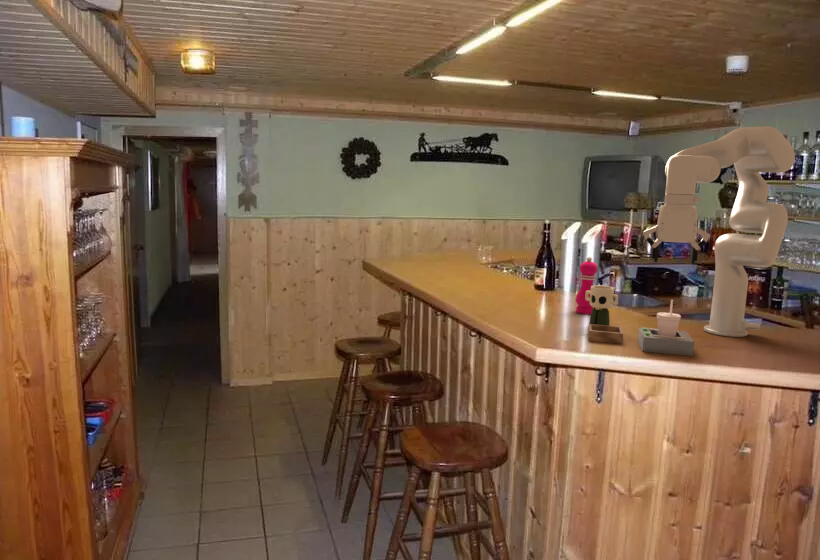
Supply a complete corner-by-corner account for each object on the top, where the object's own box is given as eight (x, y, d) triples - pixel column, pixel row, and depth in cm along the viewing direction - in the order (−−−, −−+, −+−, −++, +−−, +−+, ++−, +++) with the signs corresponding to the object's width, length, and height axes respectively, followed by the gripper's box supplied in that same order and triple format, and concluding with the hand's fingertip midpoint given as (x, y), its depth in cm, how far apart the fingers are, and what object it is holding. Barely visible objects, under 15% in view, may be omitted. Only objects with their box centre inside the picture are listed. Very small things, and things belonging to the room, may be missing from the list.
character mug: (578, 325, 204) (581, 286, 202) (587, 322, 209) (591, 283, 207) (611, 331, 197) (614, 290, 195) (619, 328, 202) (623, 288, 200)
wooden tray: (620, 336, 191) (620, 326, 191) (622, 343, 182) (623, 333, 182) (587, 333, 193) (588, 323, 193) (588, 340, 184) (589, 330, 184)
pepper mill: (573, 313, 224) (577, 257, 221) (576, 309, 231) (580, 255, 228) (594, 315, 222) (599, 258, 218) (596, 311, 228) (601, 256, 225)
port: (684, 344, 184) (686, 329, 183) (692, 356, 171) (694, 339, 170) (637, 340, 187) (639, 325, 186) (642, 351, 174) (643, 335, 174)
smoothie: (666, 351, 175) (672, 302, 173) (648, 346, 180) (653, 298, 178) (682, 349, 178) (687, 300, 176) (664, 344, 183) (668, 296, 181)
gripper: (710, 201, 175) (704, 263, 178) (644, 199, 179) (639, 259, 182) (716, 202, 168) (709, 266, 170) (647, 200, 172) (642, 262, 175)
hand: (673, 262), depth 176 cm, fingers open, 9 cm apart
